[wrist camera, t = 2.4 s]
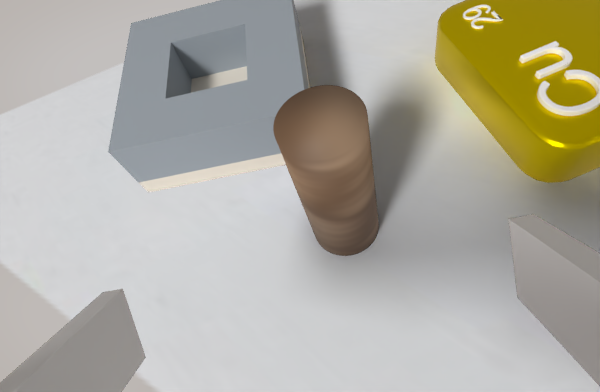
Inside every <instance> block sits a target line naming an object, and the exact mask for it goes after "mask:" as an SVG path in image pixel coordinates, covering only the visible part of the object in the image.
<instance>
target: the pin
mask: <svg viewBox="0 0 600 392" xmlns="http://www.w3.org/2000/svg"><path fill="white" fill-rule="evenodd" d="M273 131H274V136H275V139H276V141H277V144H278V146H279V149H280V151H281V154H282V156H283V158H284V161H285V163H286V166H287V168H288V171H289V173H290V176H291V178H292V180H293V183H294V185H295V188H296V190H297V193H298V195H299V198H300V200H301V202H302V205H303V207H304V210H305V212H306V215H307V217H308V220H309V222H310V224H311V227H312V229H313V232H314V234H315V237H316V239H317V241H318V242H319V244H320V245H321V246H322V247H323V248H324V249H325V250H327V251H328V252H330V253H333V254H336V255H341V256H348V255H354V254H357V253H360V252H362V251H364V250H365V249H367V248H368V247H369V246H370V245H371V244H372V243H373V241H374V240H375V238H376V236H377V233H378V228H379V222H378V212H377V203H376V193H375V183H374V173H373V164H372V154H371V144H370V134H369V125H368V115H367V110H366V107H365V104H364V103H363V101H362V100H361V98H360V97H359V96H357V95H356V94H355V93H354V92H352V91H350V90H348V89H346V88H343V87H339V86H333V85H322V86H315V87H311V88H308V89H305V90H302V91H300V92H298V93H297V94H295V95H293V96H292V97H291V98H289V99H288V100H287V101H286V102H285V103H284V104H283V105H282V106H281V108H280V109H279V111H278V112H277V114H276V117H275V120H274V125H273Z"/></svg>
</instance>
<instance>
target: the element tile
mask: <svg viewBox="0 0 600 392" xmlns="http://www.w3.org/2000/svg"><path fill="white" fill-rule="evenodd" d="M435 62H436V66H437V68H438V70H439V71H440V72H441V74H442V75H443V76H444V77H445V78H446V80H447V81H448V82H449V83H450V85H451V86H452V87H453V88H454V89H455V91H456V92H457V93H458V94H459V96H460V97H461V98H462V99H463V100H464V102H465V103H466V104H467V105H468V106H469V108H470V109H471V110H472V111H473V113H474V114H475V115H476V116H477V117H478V119H479V120H480V121H481V122H482V124H483V125H484V126H485V127H486V128H487V130H488V131H489V132H490V133H491V134H492V136H493V137H494V138H495V139H496V141H497V142H498V143H499V144H500V145H501V147H502V148H503V149H504V150H505V152H506V153H507V154H508V155H509V156H510V158H511V159H512V160H513V161H514V163H515V164H516V165H517V166H518V167H519V168H520V169H521V170H522V171H523V172H524V173H525V174H527V175H529V176H530V177H532V178H534V179H536V180H539V181H543V182H547V183H550V182H563V181H568V180H570V179H573V178H575V177H577V176H580V175H582V174H585V173H587V172H589V171H592V170H594V169H596V168H599V167H600V0H465V1H463V2H460V3H458V4H456V5H453V6H451V7H450V8H448V9H447V10H446V11H445V12H443V13H442V14H441V16H440V19H439V21H438V28H437V40H436V51H435Z"/></svg>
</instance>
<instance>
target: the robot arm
mask: <svg viewBox="0 0 600 392" xmlns="http://www.w3.org/2000/svg"><path fill="white" fill-rule="evenodd" d="M509 228H510V237H511V246H512V254H513V263H514V272H515V281H516V289H517V297H518V299H519V300H520V301H521V302H522V303H523V304H524V305H525V306H526V307H527V308H528V309H529V310H530V311H531V313H532V314H533V315H534V316H535V317H536V318H537V319H538V320H539V321H540V322H541V323H542V324H543V326H544V327H545V328H546V329H547V330H548V331H549V332H550V333H551V334H552V335H553V336H554V337H555V338H556V340H557V341H558V342H559V343H560V344H561V345H562V346H563V347H564V348H565V349H566V350H567V351H568V352H569V354H570V355H571V356H572V357H573V358H574V359H575V360H576V361H577V362H578V363H579V364H580V365H581V367H582V368H583V369H584V370H585V371H586V372H587V373H588V374H589V375H590V376H591V377H592V378H593V379H594V381H595V382H596V383H597V384H598V385H599V386H600V253H599V252H597V251H595V250H594V249H592V248H590V247H589V246H587V245H585V244H583V243H582V242H580V241H578V240H577V239H575V238H573V237H572V236H570V235H568V234H567V233H565V232H563V231H561V230H560V229H558V228H556V227H555V226H553V225H551V224H550V223H548V222H546V221H544V220H543V219H541V218H539V217H538V216H536V215H534V214H531V215H526V216H520V217H515V218H509ZM145 358H146V357H145V354H144V351H143V348H142V345H141V342H140V339H139V336H138V333H137V330H136V327H135V324H134V321H133V318H132V315H131V312H130V309H129V306H128V303H127V300H126V297H125V294H124V291H123V289H119V290H113V291H108V292H102V293H101V294H100V295H99V296H98V297H97V298H96V299H95V300H93V301H92V302H91V303H90V304H89V305H88V306H87V307H85V308H84V309H83V310H82V311H81V312H80V313H79V314H78V315H76V316H75V317H74V318H73V319H72V320H71V321H70V322H69V323H67V324H66V325H65V326H64V327H63V328H62V329H61V330H59V331H58V332H57V333H56V334H55V335H54V336H53V337H51V338H50V339H49V340H48V341H47V342H46V343H45V344H43V345H42V347H40V348H39V349H38V350H37V351H36V352H35V353H33V354H32V355H31V356H30V357H29V358H28V359H27V360H25V361H24V362H23V363H22V364H21V365H20V366H19V367H17V368H16V369H15V370H14V371H13V372H12V373H11V374H9V375H8V376H7V377H6V378H5V379H4V380H3V381H2V382H0V392H122V391H123V389H124V388H125V386H126V385H127V384H128V382H129V381H130V379H131V378H132V376H133V375H134V373H135V372H136V371H137V369H138V368H139V366H140V365H141V363H142V362H143V360H144V359H145Z"/></svg>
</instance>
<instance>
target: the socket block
mask: <svg viewBox="0 0 600 392" xmlns="http://www.w3.org/2000/svg"><path fill="white" fill-rule="evenodd" d="M308 88H310V84H309V77H308V71H307V64H306V58H305V51H304V44H303V38H302V34H301V29H300V25H299V21H298V17H297V13H296V9H295V5H294V0H220V1H216V2H212V3H208V4H205V5H201V6H197V7H193V8H189V9H185V10H181V11H178V12H174V13H169V14H165V15H162V16H158V17H154V18H150V19H146V20H142V21H138V22H134V23H131V28H130V33H129V39H128V44H127V50H126V56H125V61H124V67H123V72H122V78H121V84H120V89H119V95H118V100H117V106H116V112H115V117H114V123H113V129H112V134H111V140H110V145H109V151H108V152H109V153H110V154H111V155H112V156H113V157H114V158H115V159H116V160H117V161H118V162H119V163H120V164H121V165H122V166H123V167H124V168H125V169H126V170H127V171H128V172H129V173H130V174H131V175H132V176H133V177H134V178H135V179H136V180H137V181H138V182H139V183H140V184H141V185H142V186H143V187H144V188H145V189H146V190H147V191H148V192H153V191H158V190H163V189H168V188H173V187H178V186H183V185H188V184H193V183H198V182H203V181H208V180H213V179H217V178H222V177H227V176H232V175H237V174H242V173H247V172H252V171H257V170H262V169H267V168H272V167H277V166H282V165H286V163H285V161H284V158H283V156H282V154H281V151H280V149H279V146H278V144H277V141H276V139H275V136H274V131H273V125H274V120H275V117H276V114H277V112H278V111H279V109H280V108H281V106H282V105H283V104H284V103H285V102H286V101H287V100H288V99H289V98H291V97H292V96H293V95H295V94H297V93H298V92H300V91H302V90H305V89H308Z"/></svg>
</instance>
